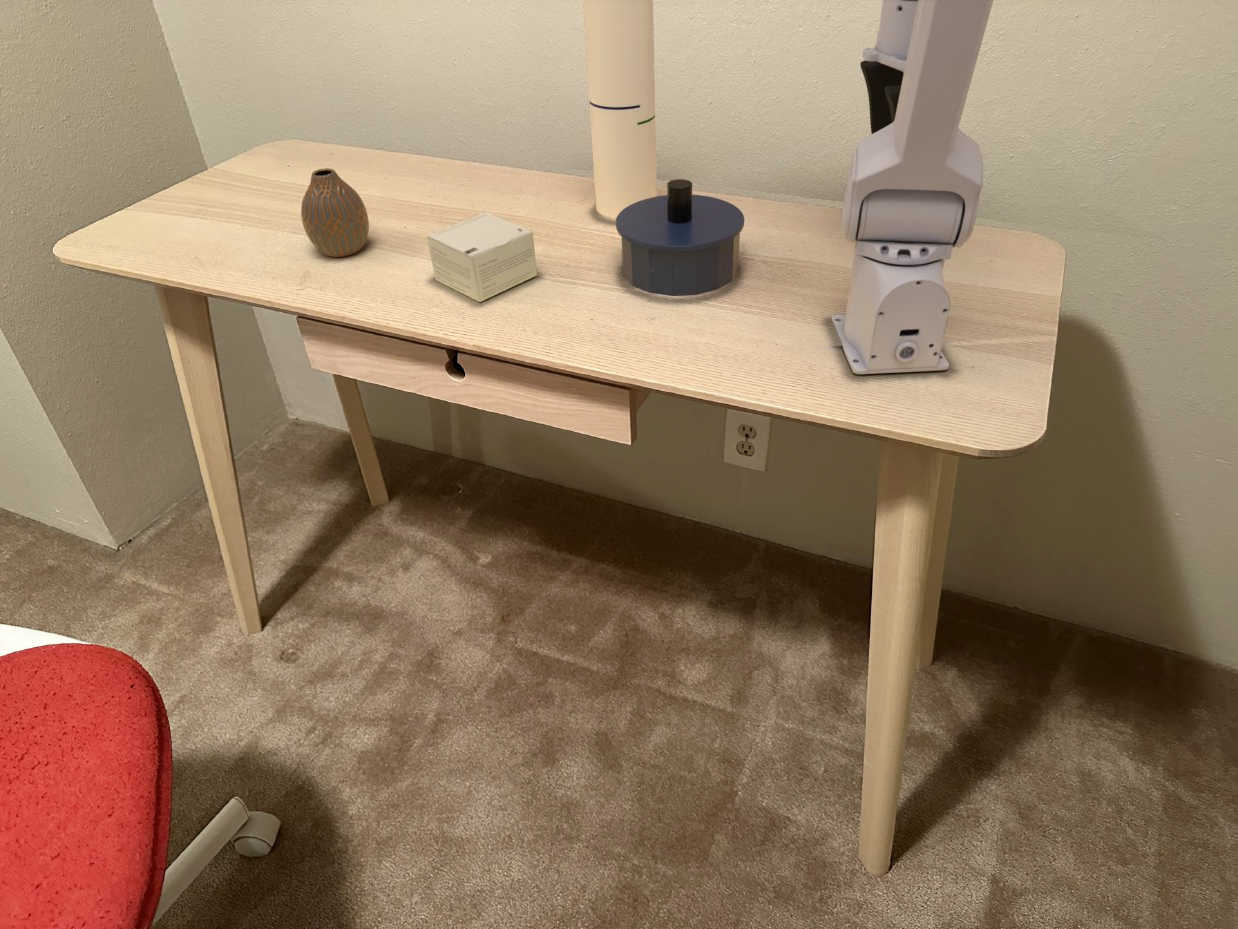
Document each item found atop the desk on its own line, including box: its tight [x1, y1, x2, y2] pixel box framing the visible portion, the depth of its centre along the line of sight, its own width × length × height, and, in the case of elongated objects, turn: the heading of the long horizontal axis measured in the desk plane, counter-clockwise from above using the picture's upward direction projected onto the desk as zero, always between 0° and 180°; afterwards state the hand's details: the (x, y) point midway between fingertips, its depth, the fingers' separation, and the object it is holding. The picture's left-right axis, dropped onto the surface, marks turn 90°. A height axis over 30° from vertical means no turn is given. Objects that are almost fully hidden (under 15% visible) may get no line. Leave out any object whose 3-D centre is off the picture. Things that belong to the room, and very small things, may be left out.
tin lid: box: [615, 178, 745, 251], centre depth 83 cm, size 13×13×5 cm
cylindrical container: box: [582, 0, 658, 219], centre depth 93 cm, size 7×7×25 cm
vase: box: [300, 167, 370, 258], centre depth 93 cm, size 7×7×9 cm
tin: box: [621, 232, 741, 297], centre depth 86 cm, size 12×12×5 cm
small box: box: [426, 211, 538, 303], centre depth 87 cm, size 8×8×5 cm
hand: (893, 151), depth 83 cm, fingers open, 7 cm apart
